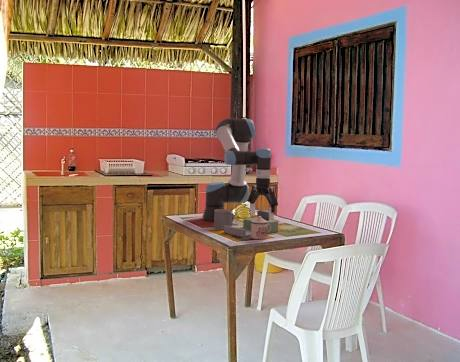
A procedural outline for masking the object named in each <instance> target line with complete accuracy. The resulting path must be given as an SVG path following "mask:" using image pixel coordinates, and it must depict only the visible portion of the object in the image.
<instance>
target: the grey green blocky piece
mask: <svg viewBox="0 0 460 362" xmlns="http://www.w3.org/2000/svg"><path fill="white" fill-rule="evenodd" d="M256 212H257V213H256V214H257V215H256V217H249V218H243V220H242V221H243V224H242V226H243V227H240V228H239V227H235V226H232V225H231V226H227V225H224V229H223V233H225V234H229V235H233V236H237V237H241V238H248V237H251V221H252V220H254V219H256V218H258V216H261V218H263V219H264V220H266V221H268V224H270V225H271V230H270V231H269V232H268V233H267V234H271V233H277V232H279V220H275V219H269V210H268V209H260V210H257V211H256ZM268 229H269V225H267V231H268Z"/></svg>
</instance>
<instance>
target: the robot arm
mask: <svg viewBox="0 0 460 362" xmlns="http://www.w3.org/2000/svg"><path fill="white" fill-rule="evenodd" d="M255 129H256V128H255V124H254V121H253V120H252V119H250V118H228V117H227V118H224V119H222V120H221V121H219V122H218V123H217V125H216V127H215V130H214V132H215V135H216V138H217V139H218V140H219V141H220V143H221V145H222V147H223V151H224V156H223V158H224V163H225V165H226V166H227V165H228V166H229V165H230V166H231V172H230V173H231V174H230V179H229V180H228V182H227V184H226V183H225V182H224V181H214V182H209V183H207V185H205V207H204V210H203V214H202V221H206V222H214V210H217V209H225V204H227V203H228V204H229V203H230V204H231V203H232V204H240V203H242V204H243V203H245V202H247V203H249V209H250V216H251V217H254V216H256V201H257V199H258V198H259V196H264V197H265V198H266V200H267V202H268V204H269V205H270V206H269V208H268V211H269V219H270V220H275V219H274V216H275V211H276V207H278V206H279V202H278V200H277V196H276V193H275V189H274V188H275V187H270V185H271V162H272V161H271V160H272V159H271V158H272V150H271V149H270V148H268V147H267V148H262V147H261V148H260V147H259V148H257V149H256V150H250V151H249V150H248V148H249V144H250V143H251V142H252V139H254V138H255V137H256V130H255ZM247 166H255V167H256V170H255V176H256V178H255V185H252V186H251V190H250V187H249V185H248V182H247V181H246V180H245V178H246V169H247V168H246V167H247ZM249 190H250V191H249Z"/></svg>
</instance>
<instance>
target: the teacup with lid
mask: <svg viewBox="0 0 460 362" xmlns="http://www.w3.org/2000/svg"><path fill="white" fill-rule="evenodd" d="M267 225H269V229H268V231H267ZM270 230H271V225H270V224H268V221H266V220H264V219H263V218H261V216H258V218H256V219H254V220H252V221H251V236H250V238H251V239H253V240H267V239H268V234H269V233H268V232H269V231H270Z"/></svg>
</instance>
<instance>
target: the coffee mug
mask: <svg viewBox="0 0 460 362" xmlns="http://www.w3.org/2000/svg"><path fill="white" fill-rule="evenodd" d="M234 220H235V213H233V212H232V210H231V209H227V208H226V209H225V208H224V209H217V210H214V221H213V228H215V229H217V230H224V225H227V226H231V227H232V223H233V222H234Z"/></svg>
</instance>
